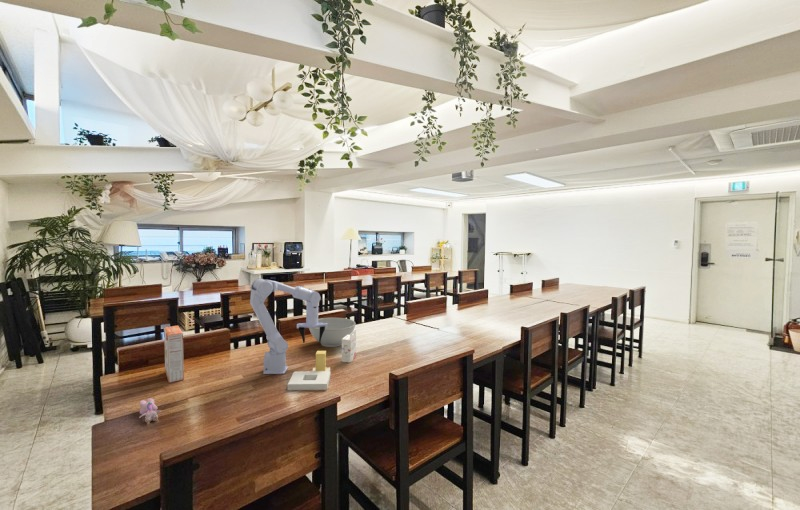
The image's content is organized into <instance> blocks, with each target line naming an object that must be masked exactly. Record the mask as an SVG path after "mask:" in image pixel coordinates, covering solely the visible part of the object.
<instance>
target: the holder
mask: <svg viewBox="0 0 800 510" xmlns="http://www.w3.org/2000/svg"><path fill="white" fill-rule="evenodd" d="M331 374H332V373H331V370H330V371H312V370H307V371H305V370H304V371H301V370H300V371H293V373H292V375H291V377H290V379H289V380H288V383H287V391H322V390H323V391H324V390H325V391H326V390H328V388H329V383H330V381H331V380H330V379H331Z"/></svg>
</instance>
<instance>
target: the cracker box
mask: <svg viewBox="0 0 800 510" xmlns="http://www.w3.org/2000/svg"><path fill="white" fill-rule="evenodd" d="M163 336H164V337H163V340H164V341H163V342H164V371H165V375H166V378H167V382H168V384H171V383H176V382H180V381H184V380H185V371H184V369H185V368H184V367H185V366H184V364H185V363H184V333H183V331H182V330H181V328H180V326H179V325H172V326H170V325H169V326H166V327H163Z"/></svg>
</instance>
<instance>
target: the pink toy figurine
mask: <svg viewBox="0 0 800 510" xmlns="http://www.w3.org/2000/svg"><path fill="white" fill-rule="evenodd" d="M139 406H140V408H141V409H140V410H139V414H140V415H139V417H138V418H139V419H141V418H142V417H144V421H145V423H146V425H151V422H153V421H154V422H155V423H158V422H160V421H159V415H158V413H162V410H158V406H157V405H156V404H155V399H154V398H153V397H152V398H151V397H149V398H147V399H146V400H145V399H142V400H140V401H139Z"/></svg>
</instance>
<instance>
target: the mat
mask: <svg viewBox="0 0 800 510" xmlns="http://www.w3.org/2000/svg"><path fill="white" fill-rule="evenodd" d="M331 368H332V367H327V366H326V371H331ZM311 371H316V367H312V370H311Z"/></svg>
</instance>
